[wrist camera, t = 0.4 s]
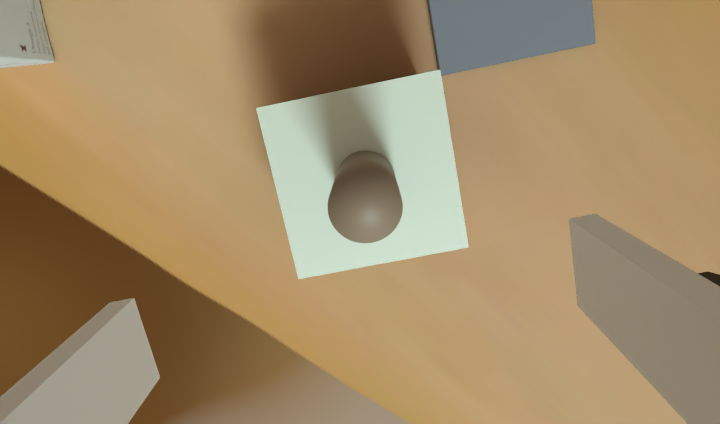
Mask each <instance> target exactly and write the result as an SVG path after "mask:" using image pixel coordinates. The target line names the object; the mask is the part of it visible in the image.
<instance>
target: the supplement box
mask: <svg viewBox="0 0 720 424" xmlns="http://www.w3.org/2000/svg"><path fill="white" fill-rule="evenodd" d="M53 62H54V56H53V53H52V49H51V46H50V42H49V39H48V35H47V31H46V27H45V23H44V18H43V14H42V9H41V4H40V0H0V68H8V67H17V66H27V65H37V64H46V63H53Z"/></svg>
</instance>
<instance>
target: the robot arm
mask: <svg viewBox="0 0 720 424" xmlns="http://www.w3.org/2000/svg"><path fill="white" fill-rule="evenodd" d="M569 225H570V235H571V245H572V255H573V265H574V274H575V284H576V294H577V304H578V307H579V308H580V309H581V310H582V311H583V312H584V313H585V314H586V315H587V316H588V317H589V318H590V319H591V320H592V322H593V323H594V324H595V325H596V326H597V327H598V328H599V329H600V330H601V331H602V332H603V333H604V334H605V335H606V337H607V338H608V339H609V340H610V341H611V342H612V343H613V344H614V345H615V346H616V347H617V348H618V349H619V350H620V352H621V353H622V354H623V355H624V356H625V357H626V358H627V359H628V360H629V361H630V362H631V363H632V364H633V366H634V367H635V368H636V369H637V370H638V371H639V372H640V373H641V374H642V375H643V376H644V377H645V378H646V379H647V381H648V382H649V383H650V384H651V385H652V386H653V387H654V388H655V389H656V390H657V391H658V392H659V393H660V394H661V396H662V397H663V398H664V399H665V400H666V401H667V402H668V403H669V404H670V405H671V406H672V407H673V408H674V409H675V411H676V412H677V413H678V414H679V415H680V416H681V417H682V418H683V419H684V420H685V421H686V422H687V423H688V424H720V275H718V274H715V273H711V272H703V273H696V272H694V271H692V270H691V269H689V268H687V267H686V266H684V265H682V264H681V263H679V262H677V261H675V260H674V259H672V258H670V257H669V256H667V255H665V254H663V253H662V252H660V251H658V250H657V249H655V248H653V247H651V246H650V245H648V244H646V243H645V242H643V241H641V240H640V239H638V238H636V237H634V236H633V235H631V234H629V233H628V232H626V231H624V230H622V229H621V228H619V227H617V226H616V225H614V224H612V223H610V222H609V221H607V220H605V219H604V218H602V217H600V216H598V215H597V214H592V215H587V216H581V217H576V218H570V219H569ZM159 378H160V376H159V373H158V370H157V367H156V364H155V361H154V358H153V354H152V351H151V348H150V345H149V342H148V339H147V336H146V333H145V330H144V327H143V324H142V321H141V318H140V315H139V312H138V309H137V306H136V303H135V300H134V298H132V299H126V300H121V301H116V302H110V303H109V304H108V305H107V306H106V307H104V308H103V309H102V310H101V311H100V312H98V313H97V314H96V315H95V316H94V317H93V318H91V319H90V320H89V321H88V322H87V323H86V324H85V325H83V326H82V327H81V328H80V329H79V330H78V331H76V332H75V333H74V334H73V335H72V336H71V337H69V338H68V339H67V340H66V341H65V342H64V343H62V344H61V345H60V346H59V347H58V348H57V349H55V350H54V351H53V352H52V353H51V354H50V355H49V356H47V357H46V358H45V359H44V360H43V361H42V362H40V363H39V364H38V365H37V366H36V367H35V368H34V369H32V370H31V371H30V372H29V373H28V374H26V375H25V376H24V377H23V378H22V379H21V380H20V381H18V382H17V383H16V384H15V385H14V386H13V387H11V388H10V389H9V390H8V391H7V392H6V393H5V394H3V395H2V396H1V397H0V424H128V423H129V421H130V420H131V418H132V417H133V416H134V414H135V413H136V411H137V410H138V408H139V407H140V406H141V404H142V403H143V401H144V400H145V398H146V397H147V395H148V394H149V392H150V391H151V390H152V388H153V387H154V385H155V384H156V383H157V381H158V380H159Z"/></svg>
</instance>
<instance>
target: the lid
mask: <svg viewBox="0 0 720 424" xmlns="http://www.w3.org/2000/svg"><path fill="white" fill-rule="evenodd" d="M256 110H257V114H258V118H259V122H260V126H261V130H262V134H263V138H264V142H265V146H266V150H267V154H268V158H269V162H270V167H271V171H272V175H273V179H274V183H275V187H276V191H277V195H278V199H279V203H280V207H281V211H282V215H283V219H284V223H285V227H286V231H287V235H288V239H289V243H290V247H291V251H292V255H293V259H294V263H295V267H296V271H297V275H298V279H302V278H307V277H313V276H318V275H323V274H329V273H334V272H339V271H345V270H350V269H355V268H361V267H366V266H372V265H377V264H382V263H388V262H393V261H398V260H404V259H409V258H414V257H420V256H425V255H430V254H436V253H441V252H446V251H452V250H457V249H462V248H468V240H467V234H466V228H465V221H464V215H463V209H462V203H461V196H460V190H459V184H458V178H457V171H456V165H455V159H454V153H453V146H452V140H451V134H450V127H449V121H448V115H447V109H446V102H445V96H444V90H443V84H442V77H441V71H440V70H435V71H430V72H425V73H420V74H416V75H411V76H406V77H401V78H396V79H392V80H387V81H382V82H377V83H373V84H368V85H363V86H358V87H354V88H349V89H344V90H339V91H334V92H330V93H325V94H320V95H315V96H311V97H306V98H301V99H296V100H292V101H287V102H282V103H277V104H272V105H268V106H263V107H259V108H256Z"/></svg>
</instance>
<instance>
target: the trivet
mask: <svg viewBox="0 0 720 424" xmlns="http://www.w3.org/2000/svg"><path fill="white" fill-rule="evenodd" d="M427 1H428V7H429V13H430V19H431V26H432V32H433V38H434V44H435V51H436V57H437V63H438V69H439V70H440V71H441V76H442V75H447V74H451V73H456V72H461V71H466V70H471V69H475V68H480V67H485V66H490V65H495V64H499V63H504V62H509V61H514V60H518V59H523V58H528V57H533V56H538V55H542V54H547V53H552V52H557V51H562V50H566V49H571V48H576V47H581V46H585V45H590V44H595V43H596V41H595V30H594V18H593V7H592V0H427Z"/></svg>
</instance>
